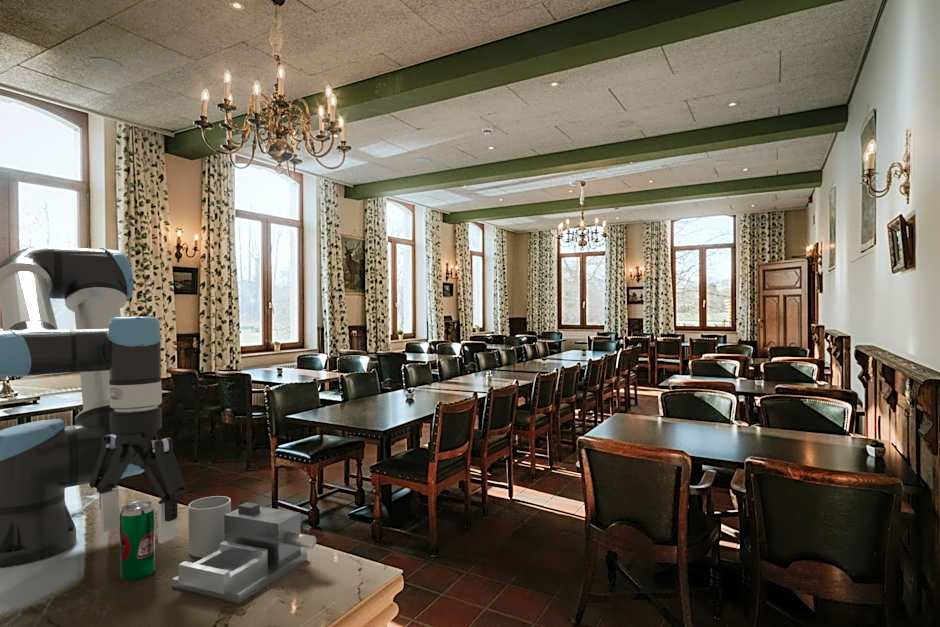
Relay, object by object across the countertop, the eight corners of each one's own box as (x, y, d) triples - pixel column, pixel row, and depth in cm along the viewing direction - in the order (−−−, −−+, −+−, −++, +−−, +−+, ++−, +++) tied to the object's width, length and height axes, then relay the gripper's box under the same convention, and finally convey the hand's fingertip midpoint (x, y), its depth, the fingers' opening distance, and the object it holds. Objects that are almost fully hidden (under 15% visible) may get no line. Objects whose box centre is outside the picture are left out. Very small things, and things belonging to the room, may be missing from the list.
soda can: (143, 583, 91) (143, 510, 91) (113, 583, 91) (112, 510, 91) (161, 569, 96) (160, 499, 96) (132, 569, 96) (131, 499, 96)
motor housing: (167, 590, 88) (167, 529, 88) (246, 548, 104) (245, 496, 104) (255, 611, 82) (254, 546, 82) (324, 563, 97) (324, 508, 97)
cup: (199, 562, 98) (199, 512, 98) (175, 547, 104) (174, 500, 104) (238, 548, 104) (238, 501, 104) (213, 535, 110) (212, 490, 110)
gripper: (63, 408, 94) (65, 533, 94) (170, 415, 85) (172, 554, 85) (107, 401, 101) (108, 518, 101) (209, 407, 92) (211, 535, 92)
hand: (137, 534), depth 93 cm, fingers open, 13 cm apart
